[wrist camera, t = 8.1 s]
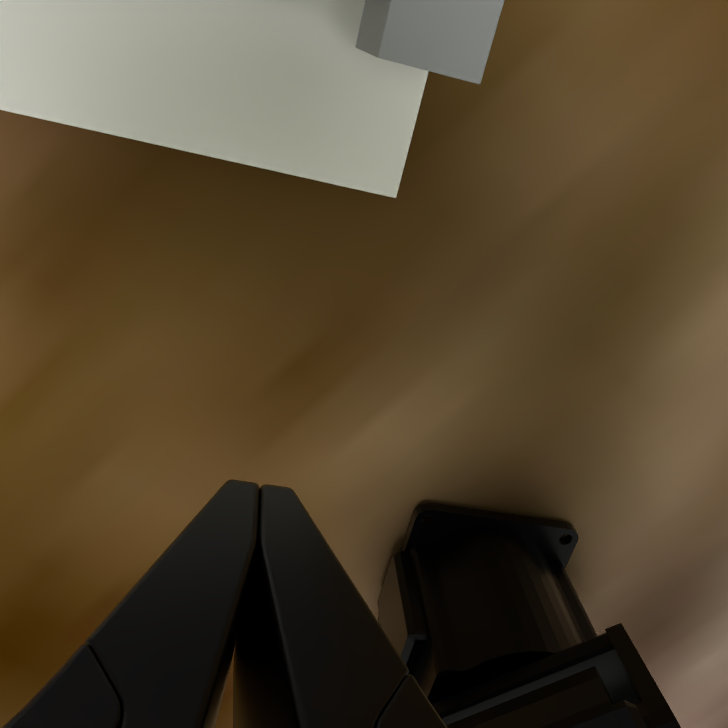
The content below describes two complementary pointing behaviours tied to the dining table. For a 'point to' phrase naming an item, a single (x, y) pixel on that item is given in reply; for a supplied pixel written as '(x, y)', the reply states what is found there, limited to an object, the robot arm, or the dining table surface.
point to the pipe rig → (246, 75)
